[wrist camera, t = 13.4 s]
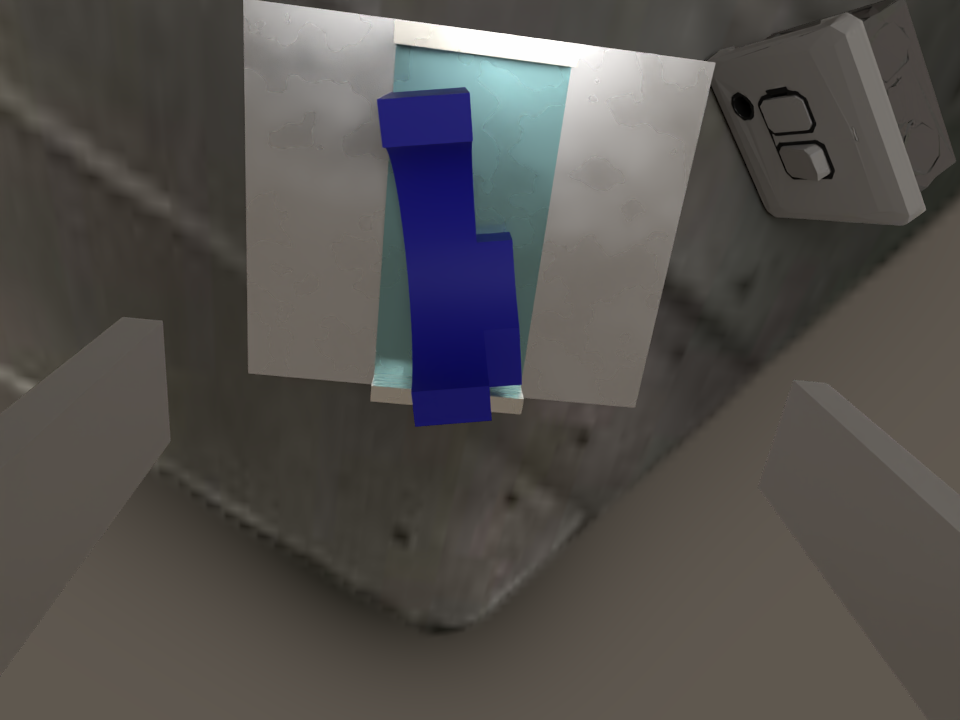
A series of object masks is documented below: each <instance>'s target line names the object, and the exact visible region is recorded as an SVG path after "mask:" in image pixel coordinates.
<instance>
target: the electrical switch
mask: <svg viewBox="0 0 960 720" xmlns="http://www.w3.org/2000/svg"><path fill="white" fill-rule="evenodd" d="M893 1H894V0H884V1H881V2H877V3H874V4H871V5H867V6H864V7H861V8H857V9H854V10H851V11H847V12H844V13H841V14H837V15H834V16H831V17H827V18H824V19H821V20H818V21H814V22H811V23H808V24H804V25H801V26H798V27H794V28H791V29H788V30H784V31H781V32H778V33H774V34H772V35H771V36H770V37H768V38H767V39H765V40H764V41H760V42H757V43H753V44H750V45H746V46H743V47H739V48H735V47H734V46H732V47H728V48H725V49H721V50H719V51H718V52H717V53H716V54H715V55H713V56H712V57H711V58H710V59H708V60H707V61H708V62H715V63H716V64H715V68H714V72H713V76H712V81H711V86H712V89H713V91H714V93H715V95H716V98H717V100H718V102H719V104H720V107H721V109H722V111H723V113H724V116H725V118H726V120H727V122H728V125H729V127H730V129H731V132H732V134H733V136H734V138H735V141H736V143H737V145H738V147H739V150H740V152H741V154H742V156H743V159H744V161H745V163H746V165H747V168H748V170H749V172H750V174H751V177H752V179H753V181H754V184H755V186H756V188H757V190H758V193H759V195H760V197H761V199H762V202H763V204H764V206H765V208H766V210H767V211H768V212H769V213H771V214H772V215H773V216H775V217H779V218H797V219H811V220H826V221H841V222H855V223H870V224H885V225H899V226H902V225H905V224H907V223H909V222H910V221H912V220H913V219H915V218H916V217H917V216H919V215H920V214H921V213H923V212H924V211H925V210H926V208H925V205H924V202H923V199H922V196H921V193H920V192H921V191H922V190H924V189H925V188H927V187H928V186H929V185H930V183H931V182H932V181H933V179H934V178H935V177H936V176H938V175H939V174H940V173H942V172H943V171H944V170H946V169H947V168H948V167H950V166H951V165H952V164H954V163H955V162H956V159H955V156H954V153H953V150H952V147H951V143H950V140H949V137H948V134H947V131H946V128H945V124H944V121H943V118H942V115H941V112H940V109H939V105H938V102H937V99H936V96H935V93H934V90H933V86H932V83H931V80H930V77H929V74H928V71H927V67H926V64H925V61H924V58H923V55H922V52H921V48H920V45H919V42H918V39H917V36H916V33H915V29H914V26H913V23H912V20H911V17H910V14H909V10H908V7H907V4H906V1H905V0H897V1H895V2H894V3H892V2H893ZM891 3H892V4H891ZM889 4H891V5H889ZM888 5H889V6H888ZM887 6H888V7H887ZM886 7H887V8H886ZM883 9H884V10H883ZM902 28H904V30H903V29H902ZM898 79H900V80H899V82H898V83H897V85H895V86H892V85H893V84H894V83H895V82H896V81H897V80H898ZM884 81H885V82H884ZM890 86H892V87H891V88H889V87H890ZM912 119H913V120H912ZM910 120H912V121H911V122H910V123H909V124H907V123H908V121H910ZM920 123H921V124H920ZM919 124H920V125H919ZM938 134H939V136H938ZM904 137H905V139H904ZM903 139H904V142H903ZM935 160H936V161H935ZM934 161H935V162H934Z"/></svg>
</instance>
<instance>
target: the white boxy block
mask: <svg viewBox="0 0 960 720" xmlns="http://www.w3.org/2000/svg"><path fill="white" fill-rule="evenodd" d="M243 12H244V89H245V166H246V243H247V320H248V373H250V374H261V375H273V376H284V377H295V378H306V379H318V380H329V381H340V382H351V383H363V384H372V385H371V400H370V401H373V402H384V403H396V404H407V405H413V403H412V395H411V389H412V331H411V313H410V298H409V285H408V274H407V263H406V253H405V244H404V236H403V228H402V220H401V213H400V206H399V200H398V194H397V188H396V183H395V178H394V173H393V168H392V164H391V161H390V157H389V154H388V152H387V150H386V148H382V139H381V131H380V122H379V114H378V105H377V99H379V98H381V97H383V96H385V95H387V94H389V93H391V92H404V91H418V90H432V89H446V88H460V87H465V88H466V89H467V90H468V91H469V92H470V103H471V118H472V133H473V141H472V169H473V190H474V208H475V224H476V234H488V233H502V232H510V234H511V237H512V240H513V258H514V273H515V286H516V298H517V309H518V319H519V328H520V350H521V372H522V385H512V386H499V387H489V388H490V403H491V412H500V413H511V414H521V413H522V407H523V401H524V398H532V399H543V400H554V401H565V402H577V403H588V404H599V405H610V406H622V407H633V408H635V406H636V401H637V397H638V393H639V389H640V384H641V380H642V376H643V371H644V367H645V363H646V359H647V354H648V350H649V346H650V342H651V337H652V333H653V329H654V324H655V320H656V316H657V312H658V307H659V303H660V299H661V294H662V290H663V286H664V282H665V277H666V273H667V269H668V265H669V260H670V256H671V252H672V247H673V243H674V239H675V235H676V230H677V226H678V222H679V218H680V213H681V209H682V205H683V200H684V196H685V192H686V188H687V183H688V179H689V175H690V170H691V166H692V162H693V158H694V153H695V149H696V145H697V141H698V136H699V132H700V128H701V123H702V119H703V115H704V111H705V106H706V102H707V98H708V93H709V89H710V85H711V81H712V76H713V72H714V68H715V64H716V63H715V62H708V61H700V60H693V59H686V58H678V57H671V56H663V55H656V54H649V53H641V52H634V51H627V50H619V49H612V48H604V47H597V46H590V45H582V44H575V43H568V42H560V41H553V40H546V39H538V38H531V37H523V36H516V35H509V34H501V33H494V32H487V31H479V30H472V29H464V28H457V27H450V26H442V25H435V24H428V23H420V22H413V21H406V20H398V19H391V18H383V17H376V16H369V15H361V14H354V13H347V12H339V11H332V10H324V9H317V8H310V7H302V6H295V5H288V4H280V3H273V2H266V1H258V0H243Z"/></svg>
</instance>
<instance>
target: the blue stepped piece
mask: <svg viewBox="0 0 960 720" xmlns="http://www.w3.org/2000/svg"><path fill="white" fill-rule="evenodd" d="M377 105H378V114H379V122H380V131H381V139H382V148H386V150H387V152H388V154H389V157H390V161H391V164H392V168H393V173H394V178H395V183H396V188H397V194H398V200H399V206H400V213H401V220H402V228H403V236H404V244H405V253H406V263H407V274H408V285H409V298H410V313H411V331H412V389H411V395H412V403H413V412H414V420H415V427H416V426H429V425H442V424H454V423H467V422H479V421H492V418H491V403H490V388H489V387H499V386H512V385H522V372H521V350H520V328H519V319H518V309H517V298H516V286H515V273H514V258H513V240H512V237H511V234H510V232H502V233H488V234H476V224H475V208H474V190H473V169H472V141H473V133H472V118H471V103H470V92H469V91H468V90H467V89H466V88H465V87H460V88H446V89H432V90H418V91H404V92H391V93H389V94H387V95H385V96H383V97H381V98H379V99H377Z"/></svg>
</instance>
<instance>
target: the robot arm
mask: <svg viewBox="0 0 960 720" xmlns="http://www.w3.org/2000/svg"><path fill="white" fill-rule="evenodd" d="M170 442H171V439H170V423H169V408H168V393H167V377H166V362H165V347H164V332H163V321H161V320H150V319H140V318H129V317H122V318H121V319H119V320H118V321H117V322H116V323H114V324H113V325H112V326H110V327H109V328H108V329H107V330H105V331H104V332H103V333H102V334H100V335H99V336H98V337H97V338H95V339H94V340H93V341H91V342H90V343H89V344H88V345H86V346H85V347H84V348H83V349H81V350H80V351H79V352H77V353H76V354H75V355H74V356H72V357H71V358H70V359H69V360H67V361H66V362H65V363H64V364H62V365H61V366H60V367H58V368H57V369H56V370H55V371H53V372H52V373H51V374H50V375H48V376H47V377H46V378H45V379H43V380H42V381H41V382H39V383H38V384H37V385H36V386H34V387H33V388H32V389H31V390H29V391H28V392H27V393H26V394H24V395H23V396H22V397H20V398H19V399H18V400H17V401H15V402H14V403H13V404H12V405H10V406H9V407H8V408H7V409H5V410H4V411H3V412H1V413H0V676H1V674H2V673H3V672H4V670H5V669H6V668H7V666H8V665H9V663H10V662H11V660H12V659H13V658H14V656H15V655H16V654H17V652H18V651H19V650H20V648H21V647H22V645H23V644H24V643H25V641H26V640H27V639H28V637H29V636H30V634H31V633H32V632H33V630H34V629H35V628H36V626H37V625H38V623H39V622H40V620H41V619H42V618H43V617H44V615H45V614H46V612H47V611H48V610H49V608H50V607H51V605H52V604H53V603H54V601H55V600H56V599H57V597H58V595H59V594H60V593H61V592H62V590H63V589H64V588H65V586H66V585H67V583H68V582H69V581H70V579H71V578H72V576H73V575H74V574H75V572H76V571H77V570H78V568H79V567H80V565H81V564H82V563H83V561H84V560H85V559H86V557H87V556H88V554H89V553H90V552H91V550H92V549H93V548H94V546H95V545H96V543H97V542H98V541H99V539H100V538H101V537H102V535H103V534H104V532H105V531H106V530H107V528H108V527H109V525H110V524H111V523H112V521H113V520H114V518H115V517H116V516H117V514H118V513H119V512H120V510H121V509H122V508H123V506H124V505H125V503H126V502H127V501H128V499H129V498H130V497H131V495H132V494H133V493H134V491H135V490H136V488H137V487H138V486H139V484H140V483H141V481H142V480H143V479H144V477H145V476H146V475H147V473H148V472H149V470H150V469H151V468H152V466H153V465H154V464H155V462H156V461H157V459H158V458H159V457H160V455H161V454H162V453H163V451H164V450H165V448H166V447H167V446H168V444H169V443H170ZM758 489H759V490H760V491H761V493H762V494H763V496H764V497H765V498H766V500H767V501H768V502H769V504H770V505H771V506H772V508H773V509H774V511H775V512H776V513H777V515H778V516H779V517H780V519H781V520H782V522H783V523H784V524H785V526H786V527H787V528H788V530H789V531H790V532H791V534H792V535H793V537H794V538H795V539H796V541H797V542H798V543H799V545H800V546H801V548H802V549H803V550H804V551H805V553H806V554H807V556H808V557H809V558H810V560H811V561H812V562H813V564H814V565H815V567H816V568H817V569H818V571H819V572H820V573H821V575H822V576H823V578H824V579H825V580H826V581H827V583H828V584H829V586H830V587H831V589H832V590H833V591H834V593H835V594H836V595H837V597H838V598H839V599H840V601H841V602H842V604H843V605H844V606H845V607H846V609H847V610H848V612H849V613H850V614H851V616H852V617H853V618H854V620H855V621H856V623H857V624H858V625H859V627H860V628H861V629H862V631H863V632H864V634H865V635H866V636H867V638H868V639H869V640H870V642H871V643H872V645H873V646H874V647H875V649H876V650H877V651H878V653H879V654H880V655H881V657H882V658H883V659H884V661H885V662H886V663H887V665H888V666H889V668H890V669H891V671H892V672H893V673H894V674H895V676H896V677H897V679H898V680H899V681H900V683H901V684H902V686H903V687H904V688H905V690H906V691H907V692H908V694H909V695H910V697H911V698H912V699H913V701H914V702H915V703H916V705H917V706H918V707H919V709H920V710H921V712H922V713H923V714H924V716H925V717H926V718H927V720H960V495H959V494H958V493H957V492H956V491H954V490H953V489H952V488H951V487H950V486H948V485H947V484H946V483H945V482H944V481H943V480H941V479H940V478H939V477H938V476H937V475H935V474H934V473H933V472H932V471H930V470H929V469H928V468H927V467H926V466H925V465H923V464H922V463H921V462H920V461H919V460H918V459H916V458H915V457H914V456H913V455H912V454H910V453H909V452H908V451H907V450H906V449H904V448H903V447H902V446H901V445H900V444H899V443H897V442H896V441H895V440H894V439H893V438H891V437H890V436H889V435H888V434H887V433H886V432H884V431H883V430H882V429H881V428H880V427H879V426H877V425H876V424H875V423H874V422H873V421H871V420H870V419H869V418H868V417H867V416H865V415H864V414H863V413H862V412H861V411H859V410H858V409H857V408H856V407H855V406H854V405H852V404H851V403H850V402H849V401H848V400H847V399H845V398H844V397H843V396H842V395H841V394H839V393H838V392H837V391H836V390H835V389H833V388H832V387H831V386H830V385H829V384H828V383H821V382H810V381H800V380H793V382H792V385H791V388H790V391H789V394H788V397H787V400H786V403H785V406H784V410H783V412H782V415H781V419H780V422H779V425H778V428H777V431H776V434H775V437H774V440H773V443H772V446H771V449H770V452H769V455H768V458H767V461H766V464H765V467H764V470H763V473H762V476H761V479H760V482H759V485H758Z"/></svg>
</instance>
